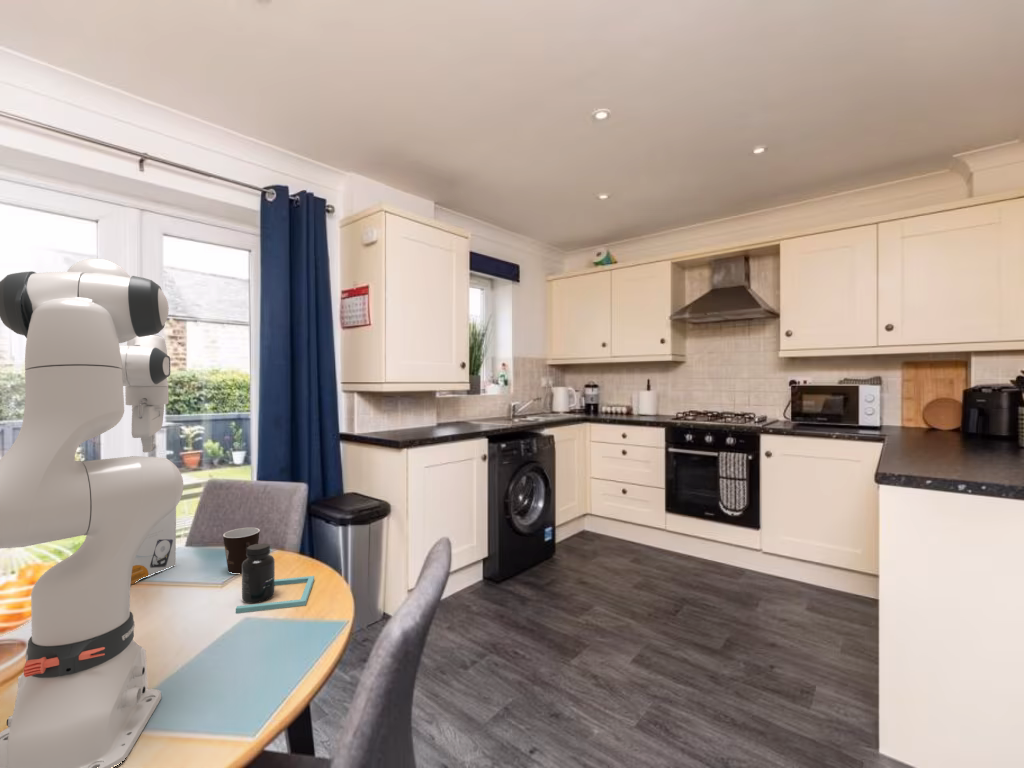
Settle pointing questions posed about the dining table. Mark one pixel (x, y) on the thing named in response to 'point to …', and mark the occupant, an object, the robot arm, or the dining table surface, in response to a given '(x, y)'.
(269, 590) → the supplement bottle
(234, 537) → the coffee mug
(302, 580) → the teal frame
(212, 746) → the dining table surface
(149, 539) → the hard drive box
